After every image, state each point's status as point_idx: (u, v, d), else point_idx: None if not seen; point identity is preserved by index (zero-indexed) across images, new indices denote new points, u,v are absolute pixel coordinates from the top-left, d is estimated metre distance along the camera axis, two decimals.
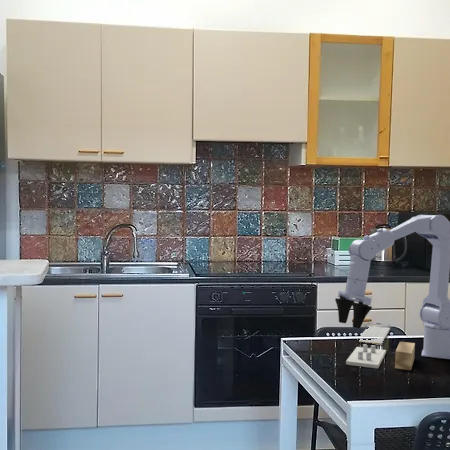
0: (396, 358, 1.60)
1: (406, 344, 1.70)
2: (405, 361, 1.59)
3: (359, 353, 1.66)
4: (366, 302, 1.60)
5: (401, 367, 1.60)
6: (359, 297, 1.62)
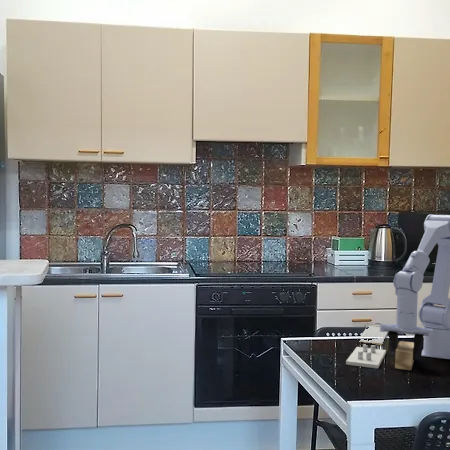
0: (396, 357, 1.60)
1: (406, 343, 1.70)
2: (405, 360, 1.59)
3: (359, 353, 1.66)
4: (432, 334, 1.63)
5: (401, 366, 1.60)
6: (423, 331, 1.63)
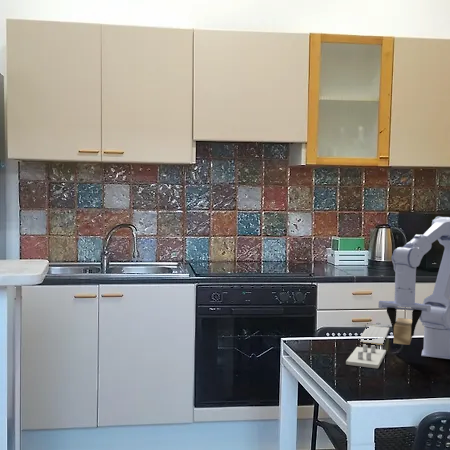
0: (394, 332, 1.60)
1: (404, 320, 1.70)
2: (404, 335, 1.60)
3: (359, 353, 1.66)
4: (430, 309, 1.63)
5: (399, 341, 1.60)
6: (421, 306, 1.63)
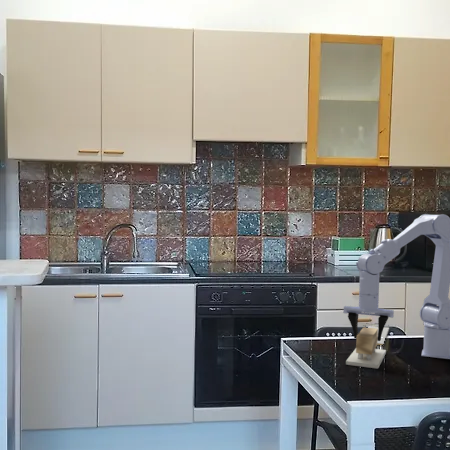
0: (357, 342, 1.64)
1: (369, 329, 1.74)
2: (366, 345, 1.63)
3: (359, 353, 1.66)
4: (393, 315, 1.67)
5: (362, 351, 1.64)
6: (384, 311, 1.67)
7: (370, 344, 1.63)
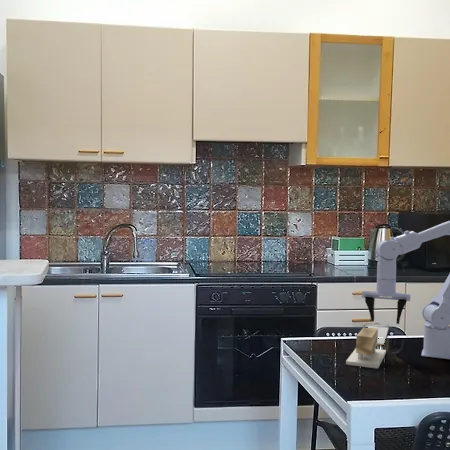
0: (357, 342, 1.64)
1: (369, 329, 1.74)
2: (366, 345, 1.63)
3: (359, 353, 1.66)
4: None
5: (362, 351, 1.64)
6: (401, 295, 1.74)
7: (370, 344, 1.63)
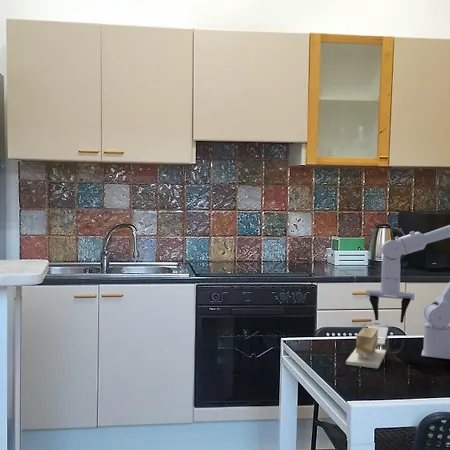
0: (357, 342, 1.64)
1: (369, 329, 1.74)
2: (366, 345, 1.63)
3: (359, 353, 1.66)
4: None
5: (362, 351, 1.64)
6: (405, 294, 1.76)
7: (370, 344, 1.63)
